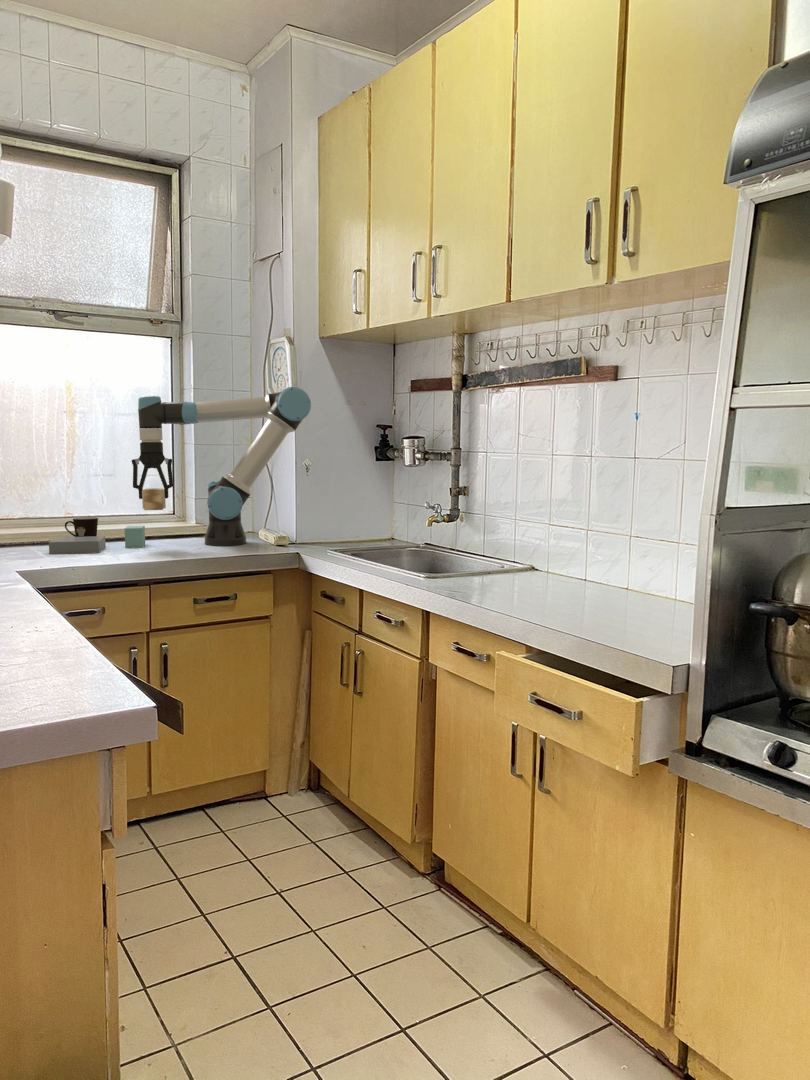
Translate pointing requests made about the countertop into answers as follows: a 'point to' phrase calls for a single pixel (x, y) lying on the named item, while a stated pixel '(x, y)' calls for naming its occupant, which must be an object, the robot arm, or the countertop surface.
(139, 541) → the teal brick
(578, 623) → the countertop surface
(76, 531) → the coffee mug
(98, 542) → the slate plinth
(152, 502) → the oak brick
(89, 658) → the countertop surface
